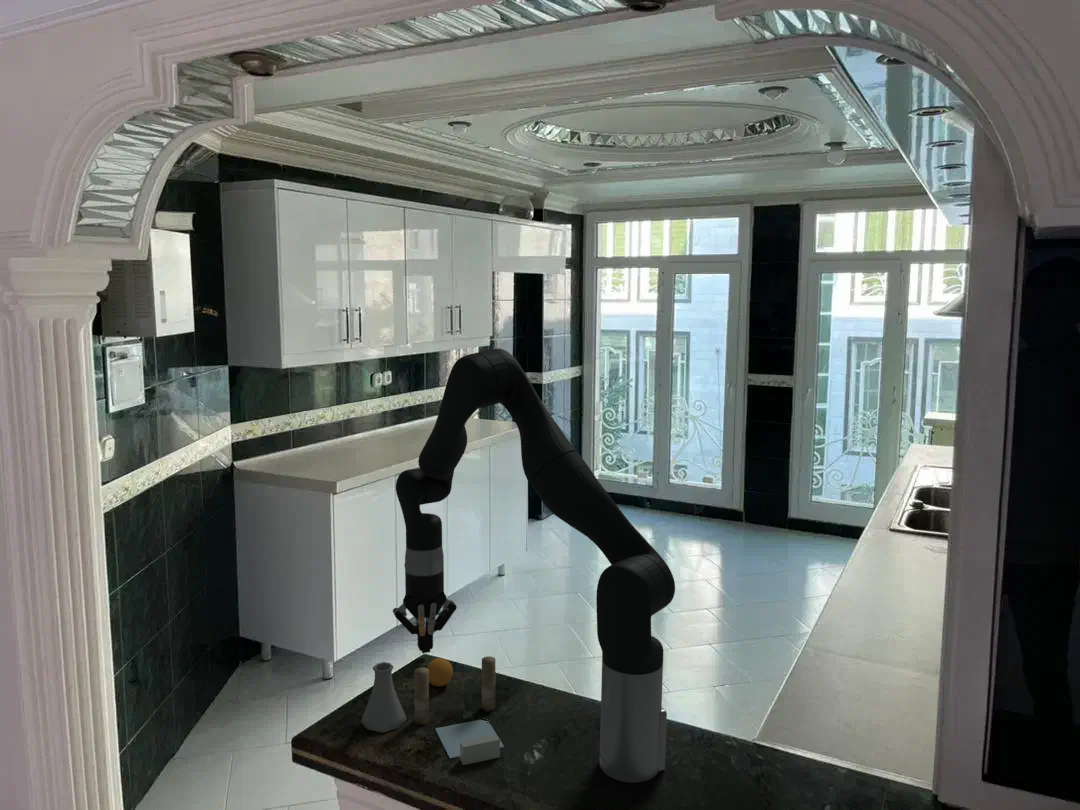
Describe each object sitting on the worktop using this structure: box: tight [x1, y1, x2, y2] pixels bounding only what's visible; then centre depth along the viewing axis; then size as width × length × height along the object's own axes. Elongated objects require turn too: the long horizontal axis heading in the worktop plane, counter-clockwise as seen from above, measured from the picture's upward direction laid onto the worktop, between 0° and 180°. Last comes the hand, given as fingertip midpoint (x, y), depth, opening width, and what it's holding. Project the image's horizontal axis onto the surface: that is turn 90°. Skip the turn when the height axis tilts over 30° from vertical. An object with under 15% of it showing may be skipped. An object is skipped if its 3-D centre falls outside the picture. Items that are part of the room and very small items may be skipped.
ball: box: [426, 657, 454, 687], centre depth 147 cm, size 5×5×5 cm
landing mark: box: [434, 719, 505, 760], centre depth 130 cm, size 9×9×1 cm
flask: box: [360, 661, 408, 734], centre depth 134 cm, size 7×7×10 cm
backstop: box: [459, 733, 501, 766], centre depth 124 cm, size 6×2×3 cm, turn 112°
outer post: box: [413, 667, 430, 725], centre depth 134 cm, size 2×2×9 cm
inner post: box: [481, 656, 496, 710], centre depth 138 cm, size 2×2×9 cm
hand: (425, 651), depth 158 cm, fingers closed
